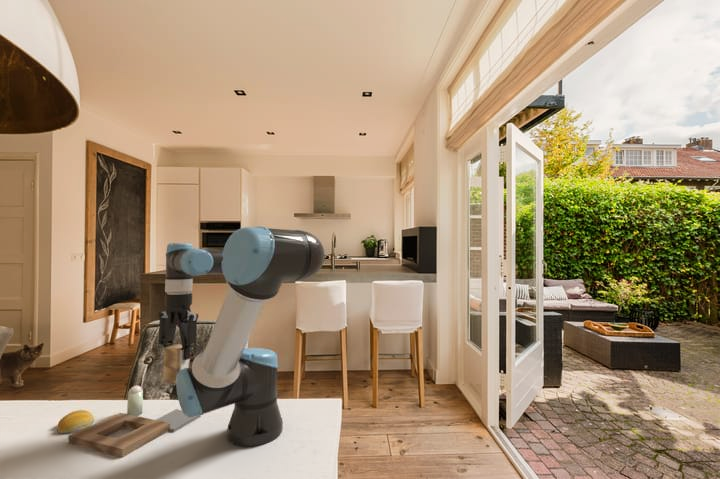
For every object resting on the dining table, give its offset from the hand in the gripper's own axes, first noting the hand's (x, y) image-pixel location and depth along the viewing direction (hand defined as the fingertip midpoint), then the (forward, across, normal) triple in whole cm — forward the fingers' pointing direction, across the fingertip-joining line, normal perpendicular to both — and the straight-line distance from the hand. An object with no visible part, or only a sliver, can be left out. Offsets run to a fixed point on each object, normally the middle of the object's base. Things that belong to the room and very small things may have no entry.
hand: (176, 369), depth 103 cm
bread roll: (+16, +25, +12) cm, 32 cm away
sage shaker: (+16, +16, 0) cm, 22 cm away
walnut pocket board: (+16, +7, +12) cm, 21 cm away
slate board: (+16, 0, 0) cm, 16 cm away
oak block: (+3, 0, 0) cm, 3 cm away
